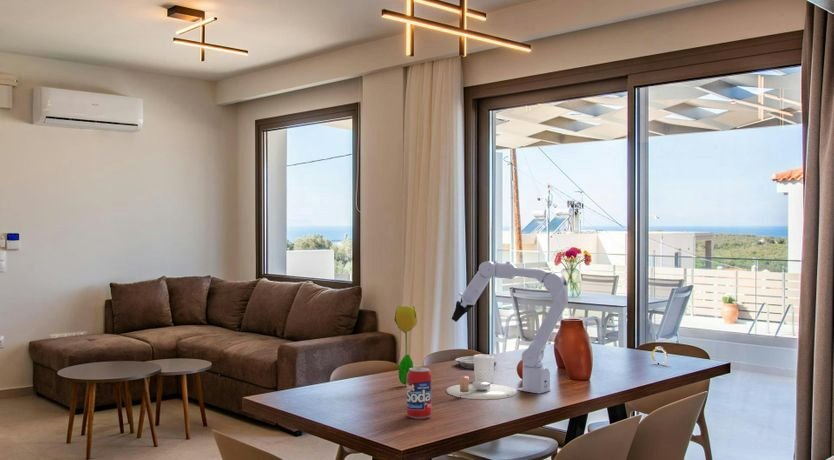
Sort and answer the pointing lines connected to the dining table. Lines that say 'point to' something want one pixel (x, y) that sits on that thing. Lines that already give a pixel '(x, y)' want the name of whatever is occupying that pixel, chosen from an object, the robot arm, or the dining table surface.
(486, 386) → the white and tan pieces
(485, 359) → the white cup
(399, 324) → the flower
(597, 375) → the dining table surface
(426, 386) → the soda can
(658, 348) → the ring
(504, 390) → the white plate
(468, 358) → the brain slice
